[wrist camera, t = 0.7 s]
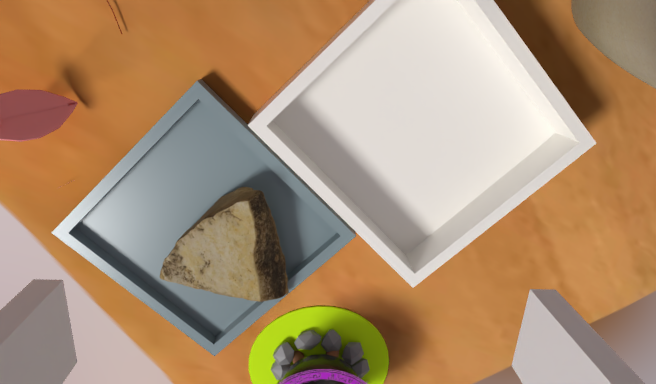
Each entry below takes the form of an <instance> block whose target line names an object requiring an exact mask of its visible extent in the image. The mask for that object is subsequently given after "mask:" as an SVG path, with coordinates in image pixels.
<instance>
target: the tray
mask: <svg viewBox="0 0 656 384" xmlns="http://www.w3.org/2000/svg"><path fill="white" fill-rule="evenodd" d="M241 187H249V188H253V190H260V191H262V192H263V193H264V196H265V200H266V202H267V204H268V206H269V208H270V210H271V215H272V217H273V219H274V221H275V225H276V230H277V234H278V237H279V242H280V247H281V249H282V253H283V254H284V256H285V263H286V274H287V277H288V283H287V286H288V289H289V293H290V292H291V291H292V290H293V289H294V288H295V287H297V286H298V285H299V284H300V283H301V282H303V281H304V280H305V279H306V278H307V277H308V276H310V275H311V274H312V273H313V272H314V271H316V270H317V269H318V268H319V267H320V266H321V265H323V264H324V263H325V262H326V261H327V260H329V259H330V258H331V257H332V256H333V255H334V254H336V253H337V252H338V251H339V250H340V249H341V248H343V247H344V246H345V245H346V244H347V243H349V242H350V241H351V240H352V239H353V238H354V237H356V234H355V230H354V229H353V228H351V227H350V226H349V225H348V224H347V223H346V222H345V221H344V220H343V219H342V218H341V217H340V216H339V215H338V214H337V213H336V212H335V211H334V210H333V209H332V208H331V207H330V206H329V205H328V204H327V203H326V202H325V201H324V200H323V199H322V198H321V197H320V196H319V195H318V194H317V193H316V192H315V191H314V190H313V189H312V188H311V187H310V186H309V185H308V184H307V183H306V182H305V181H304V180H303V179H302V178H301V177H299V176H298V175H297V174H296V173H295V172H294V171H293V170H292V169H291V168H290V167H289V166H288V165H287V164H286V163H285V162H284V161H283V160H282V159H281V158H280V157H279V156H278V155H277V154H276V153H275V152H274V151H273V150H272V149H271V148H270V147H269V146H268V145H267V144H266V143H265V142H264V141H263V140H262V139H261V138H260V137H259V136H258V135H257V134H256V133H255V132H254V131H253V130H252V129H251V128H250V127H249V126H248V124H247V123H246V122H245V121H244V120H243V119H242V118H241V117H240V116H238V115H237V114H236V113H235V112H234V111H233V110H232V109H231V108H230V107H229V106H228V105H227V104H226V103H225V102H224V101H223V100H222V99H221V98H220V97H219V96H218V95H217V94H216V93H215V92H214V91H213V90H212V89H211V88H210V87H209V86H208V85H207V84H206V83H205V82H204V81H203V80H202V79H200V80H198V81H196V83H195V84H194V85H193V86H192V87H191V88H190V89H189V90H188V91H187V92H186V93H185V94H184V95H183V96H182V97H181V98H180V99H179V100H178V101H177V102H176V103H175V104H174V105H173V107H172V108H171V109H170V110H169V111H168V112H167V113H166V114H165V115H164V116H163V117H162V118H161V119H160V120H159V121H158V122H157V123H156V124H155V125H154V126H153V127H152V128H151V130H150V131H149V132H148V133H147V134H146V135H145V136H144V137H143V138H142V139H141V140H140V141H139V142H138V143H137V144H136V145H135V146H134V147H133V148H132V149H131V150H130V151H129V152H128V154H127V155H126V156H125V157H124V158H123V159H122V160H121V161H120V162H119V163H118V164H117V165H116V166H115V167H114V168H113V169H112V170H111V171H110V172H109V173H108V174H107V175H106V176H105V178H104V179H103V180H102V181H101V182H100V183H99V184H98V185H97V186H96V187H95V188H94V189H93V190H92V191H91V192H90V193H89V194H88V195H87V196H86V197H85V198H84V199H83V200H82V202H81V203H80V204H79V205H78V206H77V207H76V208H75V209H74V210H73V211H72V212H71V213H70V214H69V215H68V216H67V217H66V218H65V219H64V220H63V221H62V222H61V223H60V224H59V226H58V227H57V228H56V229H55V230H54V231H53V232H52V234H54V235H55V236H56V237H58V238H59V239H60V240H62V241H63V242H64V243H66V244H67V245H68V246H70V247H71V248H72V249H74V250H75V251H76V252H78V253H79V254H80V255H82V256H83V257H84V258H86V259H87V260H88V261H89V262H91V263H92V264H93V265H95V266H96V267H97V268H99V269H100V270H101V271H103V272H104V273H105V274H107V275H108V276H109V277H111V278H112V279H113V280H115V281H116V282H117V283H119V284H120V285H121V286H123V287H124V288H125V289H127V290H128V291H129V292H130V293H132V294H133V295H134V296H136V297H137V298H138V299H140V300H141V301H142V302H144V303H145V304H146V305H148V306H149V307H150V308H152V309H153V310H154V311H156V312H157V313H158V314H160V315H161V316H162V317H164V318H165V319H166V320H167V321H169V322H170V323H171V324H173V325H174V326H175V327H177V328H178V329H179V330H181V331H182V332H183V333H185V334H186V335H187V336H189V337H190V338H191V339H193V340H194V341H195V342H197V343H198V344H199V345H201V346H202V347H203V348H205V349H206V350H207V351H208V352H210V353H211V354H212V355H214V356H215V355H216V354H218V353H219V352H220V351H221V350H222V349H224V348H225V347H226V346H227V345H228V344H229V343H231V342H232V341H233V340H234V339H235V338H236V337H238V336H239V335H240V334H241V333H242V332H244V331H245V330H246V329H247V328H248V327H249V326H251V325H252V324H253V323H254V322H255V321H257V320H258V319H259V318H260V317H261V316H262V315H264V314H265V313H266V312H267V311H268V310H270V309H271V308H272V307H273V306H274V305H275V304H277V303H278V302H279V301H280V300H281V299H282V298H284V297H285V296H286V295H287V294H286V295H284V296H283V297H281V298H278V299H273V300H268V301H263V302H259V301H250V300H246V299H244V298H235V297H229V296H225V295H219V294H215V293H213V292H210V291H205V290H202V289H195V288H191V287H188V286H184V285H182V284H178V283H173V282H168V281H165V280H162V279H160V271H161V269H162V266H163V262H164V259H165V258H166V257H167V256H168V255H169V254H170V252H171V251H172V250H173V248H174V247H175V244H176V242H177V240H178V239H179V238H180V237H181V236H182V235H183V234H184V233H185V232H186V231H187V230H188V229H189V228H191V227H192V226H193V225H194V224H195V223H196V222H197V221H198V220H199V219H200V218H201V217H202V216H203V215H204V214H205V213H206V212H207V210H208V209H210V208H211V207H212V206H213V205H214V204H215V202H216V201H218V199H219V198H220V197H222V196H224V195H226V194H228V193H230V192H232V191H235V190H236V189H238V188H241Z"/></svg>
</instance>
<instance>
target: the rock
mask: <svg viewBox="0 0 656 384" xmlns="http://www.w3.org/2000/svg"><path fill="white" fill-rule="evenodd" d="M160 279H162V280H165V281H168V282H173V283H178V284H182V285H184V286H188V287H191V288H195V289H202V290H205V291H210V292H213V293H215V294H219V295H225V296H229V297H235V298H244V299H246V300H250V301H259V302H263V301H268V300H273V299H278V298H281V297H283V296H284V295H286V294H288V293H289V289H288V286H287V283H288V277H287V274H286V263H285V256H284V254H283V253H282V249H281V247H280V242H279V237H278V234H277V230H276V225H275V221H274V219H273V217H272V215H271V210H270V208H269V206H268V204H267V202H266V200H265V196H264V193H263V192H262V191H260V190H253V188H249V187H241V188H238V189H236V190H235V191H232V192H230V193H228V194H226V195H224V196H222V197H220V198H219V199H218V201H216V202H215V204H214V205H213V206H212V207H211V208H210V209H208V210H207V212H206V213H205V214H204V215H203V216H202V217H201V218H200V219H199V220H198V221H197V222H196V223H195V224H194V225H193V226H192V227H191V228H189V229H188V230H187V231H186V232H185V233H184V234H183V235H182V236H181V237H180V238H179V239H178V240H177V242H176V244H175V247H174V248H173V250H172V251H171V252H170V254H169V255H168V256H167V257H166V258H165V259H164V262H163V266H162V269H161V271H160Z"/></svg>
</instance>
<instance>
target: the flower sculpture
mask: <svg viewBox="0 0 656 384" xmlns="http://www.w3.org/2000/svg"><path fill="white" fill-rule="evenodd" d="M107 2H108V1H107ZM108 4H109V2H108ZM109 6H110V4H109ZM110 7H111V6H110ZM111 9H112V8H111ZM112 11H113V10H112ZM113 14H114V12H113ZM114 16H115V14H114ZM115 19H116V17H115ZM116 21H117V19H116ZM117 24H118V22H117ZM118 26H119V25H118ZM119 29H120V27H119ZM120 31H121V30H120ZM121 34H122V32H121ZM76 105H77V102H75V101H73V100H70V99H68V98H66V97H62V96H59V95H56V94H52V93H49V92H46V91H42V90H14V91H10V92H7V93H3V94H0V140H8V141H27V140H32V139H37V138H41V137H43V136H45V135H47V134H49V133H51V132H53V131H54V130H56V129H58V128H60V126H61V125H62V124H63V123H64V122H65V120H66V119H67V118H68V117H69V116H70V114H71V113H72V112H73V110H74V109H75V107H76ZM71 182H72V181H71ZM69 183H70V182H69ZM60 187H61V186H60ZM58 188H59V187H58Z"/></svg>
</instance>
